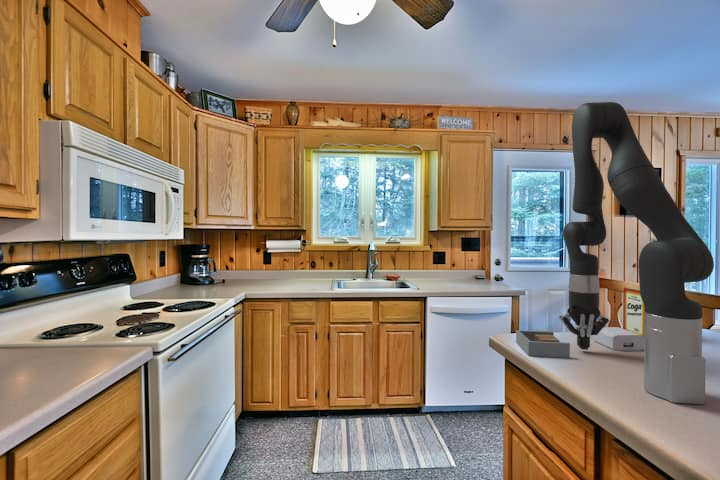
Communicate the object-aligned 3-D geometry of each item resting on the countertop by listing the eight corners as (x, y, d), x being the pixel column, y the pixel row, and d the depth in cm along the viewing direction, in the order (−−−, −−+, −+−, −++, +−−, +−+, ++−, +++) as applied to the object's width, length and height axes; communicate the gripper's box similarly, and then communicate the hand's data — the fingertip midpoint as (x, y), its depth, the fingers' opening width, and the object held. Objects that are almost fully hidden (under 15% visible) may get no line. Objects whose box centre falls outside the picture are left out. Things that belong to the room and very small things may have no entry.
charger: (607, 336, 116) (644, 351, 101) (580, 336, 116) (613, 351, 101) (607, 322, 116) (644, 335, 101) (580, 322, 116) (613, 335, 101)
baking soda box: (623, 331, 121) (623, 286, 120) (641, 331, 121) (642, 286, 120) (645, 340, 111) (646, 291, 111) (665, 339, 111) (666, 290, 111)
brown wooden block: (559, 354, 99) (559, 340, 99) (540, 353, 100) (540, 339, 100) (552, 348, 104) (552, 335, 104) (535, 347, 105) (535, 334, 105)
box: (569, 357, 95) (569, 343, 95) (528, 356, 97) (528, 342, 97) (552, 344, 107) (552, 331, 107) (516, 342, 109) (516, 330, 109)
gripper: (565, 291, 97) (565, 352, 97) (616, 292, 95) (615, 354, 96) (554, 287, 104) (553, 343, 105) (600, 288, 103) (600, 345, 103)
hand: (583, 348), depth 100 cm, fingers closed
